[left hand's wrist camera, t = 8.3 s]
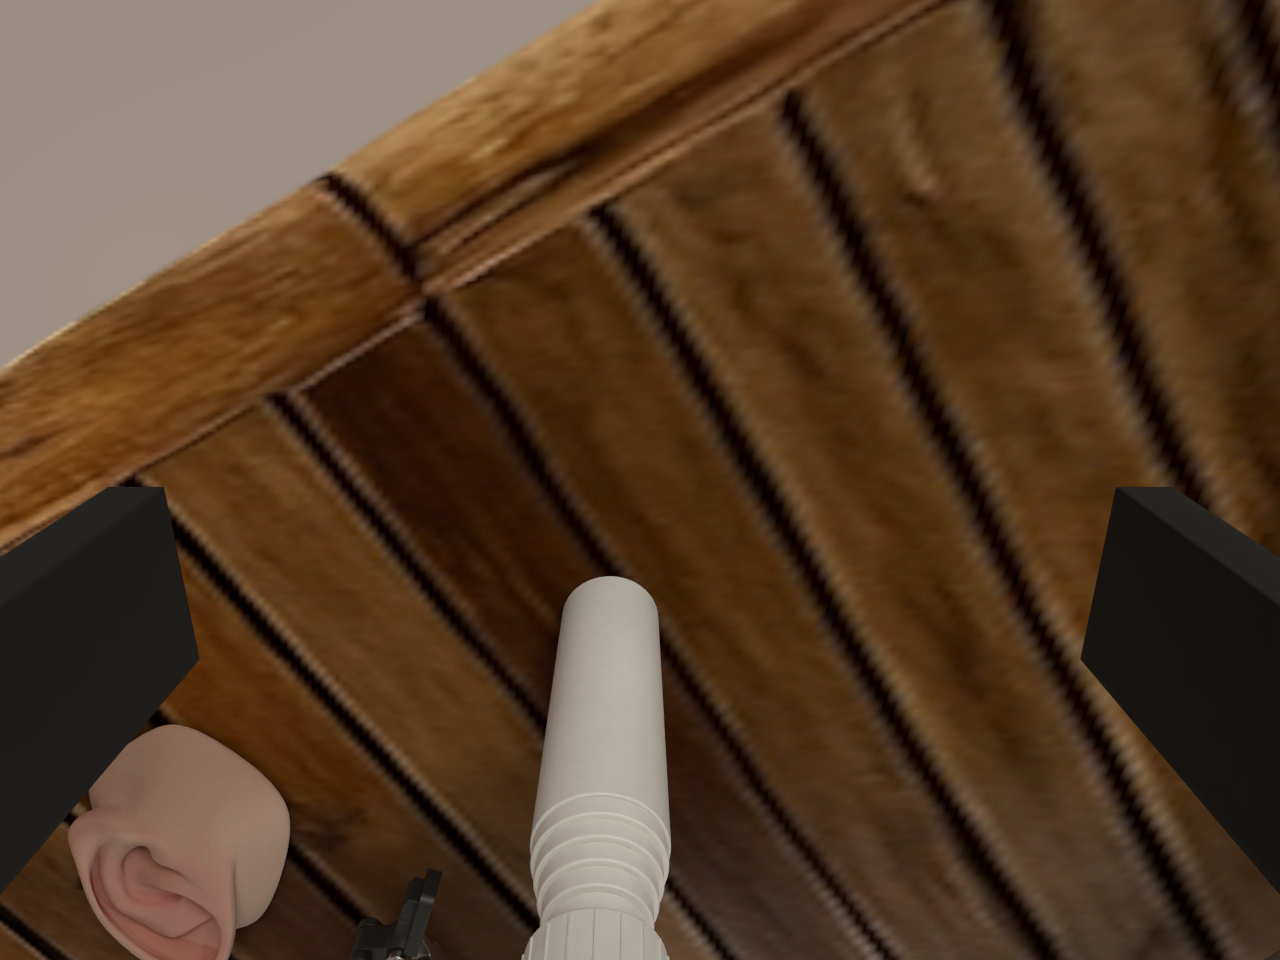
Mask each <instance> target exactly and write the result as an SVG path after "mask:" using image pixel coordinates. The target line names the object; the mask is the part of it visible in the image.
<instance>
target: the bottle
mask: <svg viewBox="0 0 1280 960" xmlns="http://www.w3.org/2000/svg"><path fill="white" fill-rule="evenodd" d="M530 853H531V860H530V870H531V874H532V878H533V887H534V893H535V896H536V899H537V911H538V915H539V917H540V927H541V926H542V925H543V924H544V923H546V922H547V921H549V920H550V919H552V918H554V917H556V916H558V915H560V914H563V913H566V912H569V911H573V910H578V909H585V908H606V909H613V910H618V911H621V912H624V913H628V914H630V915H632V916H635V917H637V918H638V919H640V920H642V921H643V922H645V923H646V924H647V925H649V926H650V927H651V928H652V929H653V930H654V922H655V921H656V918H657V916H658V912H659V903H660V901H661V899H662V896H663V892H664V885H665V882H666V880H667V877H668V872H669V858H670V853H671V837H670V820H669V802H668V784H667V766H666V748H665V730H664V712H663V694H662V677H661V659H660V641H659V623H658V612H657V608H656V605H655V603H654V600H653V599H652V597H651V596H650V595H649V593H648V592H647V591H646V590H645V589H644V588H643V587H641V586H640V585H638V584H637V583H635V582H633V581H631V580H628V579H625V578H621V577H614V576H606V577H599V578H595V579H592V580H589V581H587V582H585V583H583V584H582V585H580V586H579V587H577V588H576V589H575V590H574V591H573V592H572V593H571V595H570V596H569V597H568V599H567V601H566V603H565V605H564V609H563V614H562V621H561V628H560V635H559V642H558V649H557V656H556V663H555V670H554V677H553V684H552V691H551V698H550V705H549V713H548V720H547V727H546V734H545V741H544V748H543V755H542V762H541V769H540V776H539V783H538V790H537V797H536V804H535V811H534V819H533V826H532V833H531V840H530Z"/></svg>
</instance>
